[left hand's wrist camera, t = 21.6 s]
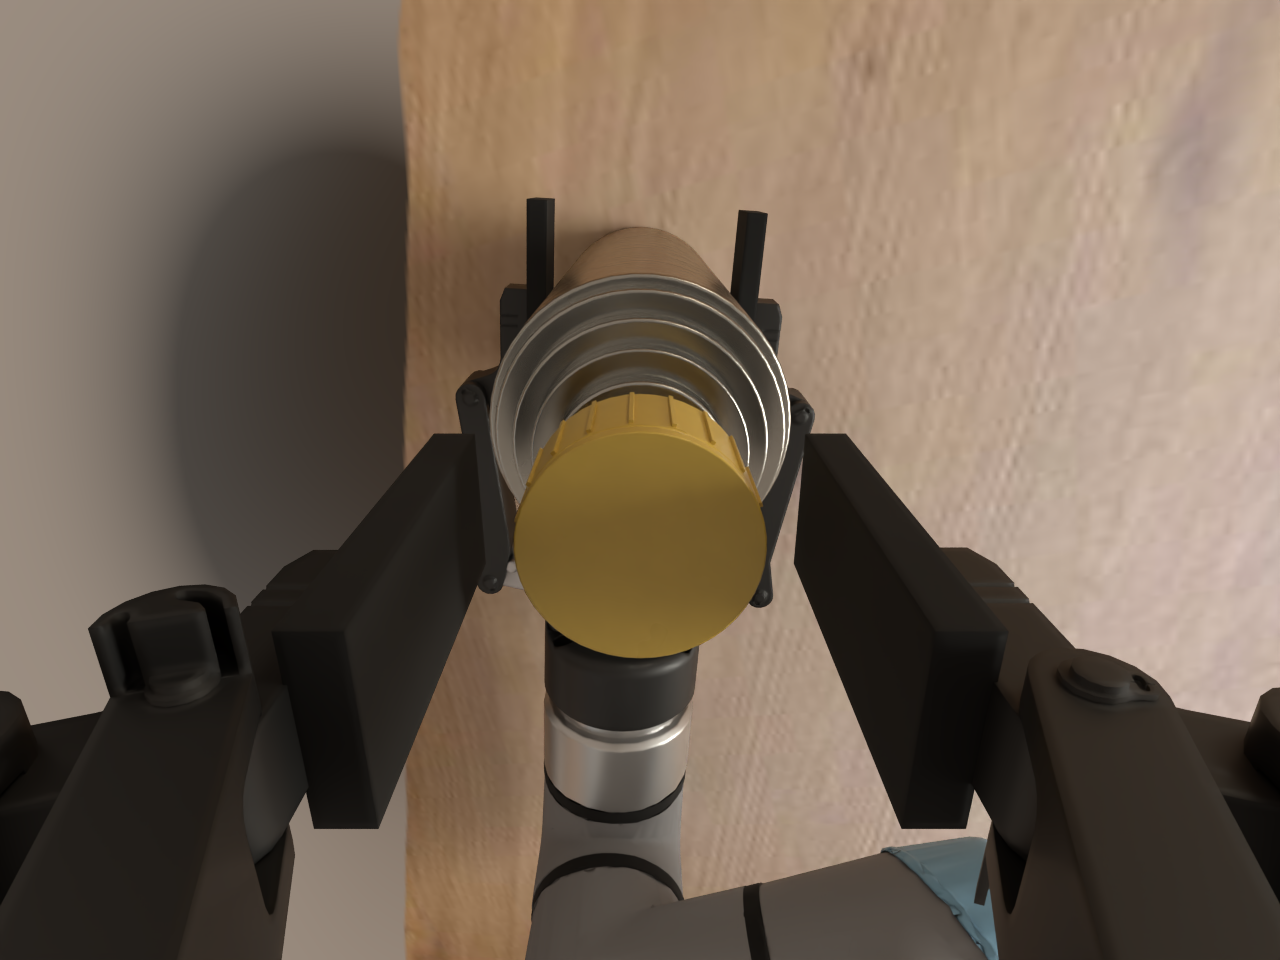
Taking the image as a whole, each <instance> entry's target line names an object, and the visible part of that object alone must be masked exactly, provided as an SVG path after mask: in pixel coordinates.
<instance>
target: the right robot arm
mask: <svg viewBox="0 0 1280 960" xmlns="http://www.w3.org/2000/svg"><path fill="white" fill-rule="evenodd" d="M554 214H555V199H551V198H529V199H527V285H526V284H509V285H508V286H507V287H505V289H504V291H503V294H502V297H501V299H500V344H501V360H502V358H503V356H504V355H505V353H506V351H507V349H508V347H509V345H510V343H511V342H512V340H513V339H514V338H515V336H516V335H517V334H518V332H519V331H520V329H521V328H522V327H523V325H524V324H525V323H526V322H527V321H528V319H529V318H530V317H531V316H532V315H533V313H534V312H535V311H536V310H537V308H538V307H539V306H540V305H541V304H542V302H543V301H544V300H545V299H546V298H547V296H548V295H549V294H550V293H551V291H552V290H553V287H554ZM767 216H768V214H767V213H763V212H759V211H746V210H739V213H738V223H737V233H736V243H735V253H734V263H733V272H732V282H731V292H730V294H731V295H732V296H733V297H734V299H735V300H736V301H737V302H738V303H739V305H740V306H741V307H742V308H743V310H744V311H745V312H746V313H747V314H748V316H749V317H750V318H751V319H752V320H753V322H754V323H755V324H756V325H757V326H758V328H759V329H760V330H761V332H762V333H763V334H764V336H765V337H766V339H767V340H768V342H769V343H770V345H771V346H772V348H773V350H774V352H775V354H776V356H777V353H778V345H779V338H780V330H781V322H782V315H781V311H780V307H779V304H778V303H777V302H776V301H774V300H773V299H761V298H758V294H759V285H760V277H761V268H762V259H763V251H764V242H765V233H766V225H767ZM501 360H500V363H501ZM499 366H500V364H499ZM499 366H497V367H494V368H491V369H488V370H484V371H481V370H479V371H475V372H474V373H472V374H471V375H470V376H469V377H468V378H467V380H466V381H465V382H464V383H463V384H462V385H461V386H460V387H459V389H458V390H457V392H456V404H457V409H458V415H459V420H460V425H461V430H462V434H475V442H476V453H477V465H478V476H479V488H480V499H481V511H482V522H483V534H484V545H485V557H486V565H485V567H484V570H483V572H482V575H481V577H480V580H479V582H478V587H479V589H481V590H482V591H483V592H485V593H487V594H494V593H497V592H499V591H500V590H501V588H502V586H503V585H504V586H508V587H513V588H517V589H522V590H524V588H523V586H522V584H521V582H520V579H519V576H518V572H517V569H516V565H515V558H514V531H515V524H516V522H514V520H515V516H516V514H517V511H516V505H515V499H514V495H513V494H512V492H511V491H510V489H509V488H508V486H507V484H506V482H505V480H504V478H503V476H502V474H501V472H500V469H499V466H498V463H497V460H496V457H495V454H494V450H493V445H492V440H491V435H490V419H489V413H490V400H491V394H492V389H493V384H494V380H495V376H496V374H497V371H498V368H499ZM788 393H789V399H790V412H791V425H790V435H789V442H788V446H787V451H786V455H785V459H784V461H783V464H782V467H781V469H780V472H779V474H778V476H777V478H776V480H775V482H774V484H773V486H772V488H771V489H770V491H769V493H768V494H767V495H766V497H765V499H764V500H763V501H762V504H763V507H760V509H761V512H762V515H763V518H764V522H765V528H766V535H767V554H766V561H765V567H764V570H763V574H762V577H761V580H760V583H759V585H758V587H757V589H756V591H755V594H754V595H753V597H752V598H751V600H750V602H749V604H750V605H751V606H754V607H756V608H762V607H765V606H767V605H768V604H770V602H771V601H772V599H773V589H772V578H771V567H770V562H771V559H772V555H773V552H774V549H775V546H776V542H777V539H778V536H779V533H780V529H781V526H782V523H783V520H784V516H785V513H786V510H787V507H788V503H789V500H790V497H791V494H792V490H793V487H794V484H795V481H796V478H797V474H798V471H799V468H800V465H801V461H802V458H803V453H804V442H805V434H810V432H811V429H812V426H813V422H814V418H815V413H814V410H813V408H812V407H811V406H810V404H809V403H808V402H807V401H806V399H805V398H804V397H803V395H802V394H801V393H800V392H799V391H798V390H796V389H794V388H788ZM698 651H699V645H698V646H696V647H693V648H691V649H689V650H686V651H683V652H679V653H676V654H672V655H667V656H661V657H653V658H627V657H619V656H613V655H608V654H605V653H601V652H598V651H594V650H592V649H589V648H587V647H585V646H582V645H580V644H578V643H576V642H574V641H573V640H571V639H569V638H567V637H566V636H564V635H563V634H562V633H560V632H559V631H557V630H556V629H555V628H554V627H553V626H551V625H550V624H549V623H548V622H547V621H546V620H545V688H546V694H545V699H544V773H545V782H544V804H543V825H542V837H541V846H540V853H539V860H538V866H537V873H536V879H535V886H534V893H533V901H532V914H531V921H532V924H531V930H530V935H529V941H528V946H527V952H526V957H525V960H999V957H998V949H997V942H996V934H995V926H994V918H993V911H992V903H991V895H990V889H989V890H988V893H987V897H986V901H985V905H984V906H983V905H979V904H975V903H974V898H975V892H976V886H977V882H978V878H979V873H980V869H981V865H982V860H983V856H984V852H985V848H986V843H987V840H986V839H983V838H979V837H964V838H957V839H950V840H944V841H937V842H930V843H923V844H916V845H910V846H903V847H887V848H882V850H881V853H880V854H876V855H872V856H868V857H864V858H861V859H857V860H853V861H849V862H845V863H841V864H837V865H833V866H829V867H826V868H822V869H818V870H814V871H810V872H806V873H802V874H798V875H794V876H790V877H787V878H783V879H779V880H775V881H771V882H767V883H757V884H753V885H749V886H743V887H738V888H734V889H730V890H725V891H721V892H717V893H712V894H708V895H703V896H699V897H695V898H690V899H686V900H684V898H683V890H682V873H681V857H680V827H681V812H682V797H683V783H684V779H685V770H686V766H687V760H688V750H689V740H690V730H691V719H692V707H693V701H692V696H693V694H694V689H695V680H696V671H697V661H698Z"/></svg>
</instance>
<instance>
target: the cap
mask: <svg viewBox="0 0 1280 960" xmlns="http://www.w3.org/2000/svg"><path fill="white" fill-rule="evenodd" d="M526 486H527V487H526V489H525V492H524V495H523V498H522V500H521V503H520V506H519V508H518V511H517V514H516V516H515V520H514V522H516V524H515V531H514V558H515V565H516V569H517V572H518V576H519V579H520V582H521V584H522V586H523V588H524V591H525V593H526V595H527V596H528V598H529V599H530V601H531V603H532V604H533V606H534V607H535V608H536V610H537V611H538V612H539V613H540V614H541V616H542V617H543V618H544V619H545V620H546V621H547V622H548V623H549V624H550V625H551V626H553V627H554V628H555V629H556V630H557V631H559V632H560V633H562V634H563V635H564V636H566V637H567V638H569V639H571V640H573V641H574V642H576V643H578V644H580V645H582V646H585V647H587V648H589V649H592V650H594V651H598V652H601V653H605V654H608V655H613V656H619V657H627V658H653V657H661V656H667V655H672V654H676V653H679V652H683V651H686V650H689V649H691V648H693V647H696V646H698V645H701V644H702V643H704V642H706V641H708V640H710V639H711V638H713V637H715V636H716V635H717V634H719V633H720V632H722V631H723V630H724V629H726V628H727V627H728V626H729V625H730V624H731V623H732V622H733V621H734V620H735V619H736V618H737V617H738V616H739V615H740V614H741V612H742V611H743V610H744V609H745V608H746V606H747V605H748V603H749V602H750V600H751V598H752V597H753V595H754V594H755V591H756V589H757V587H758V585H759V583H760V580H761V577H762V574H763V570H764V567H765V561H766V554H767V535H766V528H765V522H764V518H763V515H762V512H761V509H760V507H763V504H762V501H761V499H760V496H759V493H758V491H757V488H756V485H755V483H754V480H753V478H752V475H751V472H750V470H749V467H745V465H744V463H743V460H742V458H741V456H740V453H739V451H738V448H737V445H736V442H735V440H734V438H733V436H732V435H731V436H730V437H729V436H728V435H727V433H726V432H725V431H724V430H723V429H722V428H721V427H720V426H719V425H718V424H717V423H716V422H715V421H714V420H713V419H711V418H710V417H709V415H708V412H706V411H705V410H704V411H703V412H701V411H700V410H698V409H697V408H695V407H693V406H691V405H688V404H686V403H684V402H681V401H678V400H675V399H673V396H670V395H669V396H668V397H664V396H659V395H650V394H634V392H630V395H622V396H617V397H611V398H608V399H605V400H602V401H599V402H597V401H596V400H595V401H593V402H592V405H590V406H588V407H586V408H584V409H582V410H580V411H579V412H577V413H576V414H574V415H573V416H571V417H570V418H569V419H568V420H567V421H564V420H562V421H561V422H560V425H559V428H558V429H557V430H556V431H555V433H554V434H553V435H552V436H551V437H550V439H549V440H548V442H547V443H546V445H545V446H544V448H543V449H542V448H540V449H539V451H538V453H537V456H536V459H535V461H534V464H533V467H532V469H531V472H530V474H529V477H528V480H527V482H526Z"/></svg>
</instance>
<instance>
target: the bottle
mask: <svg viewBox="0 0 1280 960" xmlns="http://www.w3.org/2000/svg"><path fill="white" fill-rule="evenodd" d="M630 392H634V394H650V395H659V396H664V397H668V396H669V395H670V396H673V399H675V400H678V401H681V402H684V403H686V404H688V405H691V406H693V407H695V408H697V409H698V410H700V411H701V412H703V411H704V410H705V411H706V412H708V415H709V417H710V418H711V419H713V420H714V421H715V422H716V423H717V424H718V425H719V426H720V427H721V428H722V429H723V430H724V431H725V432H726V433H727V435H728V436H729V437H730V436H731V435H732V436H733V438H734V440H735V442H736V445H737V448H738V451H739V453H740V456H741V458H742V460H743V463H744V465H745V467H749V470H750V472H751V475H752V478H753V480H754V483H755V485H756V488H757V491H758V493H759V496H760V499H761V501H763V500H764V499H765V497H766V495H767V494H768V493H769V491H770V489H771V488H772V486H773V484H774V482H775V480H776V478H777V476H778V474H779V472H780V469H781V467H782V464H783V461H784V459H785V455H786V451H787V446H788V442H789V435H790V425H791V412H790V399H789V393H788V387H787V383H786V379H785V376H784V373H783V370H782V367H781V364H780V362H779V360H778V358H777V356H776V354H775V352H774V350H773V348H772V346H771V345H770V343H769V342H768V340H767V339H766V337H765V336H764V334H763V333H762V332H761V330H760V329H759V328H758V326H757V325H756V324H755V323H754V322H753V320H752V319H751V318H750V317H749V316H748V314H747V313H746V312H745V311H744V310H743V308H742V307H741V306H740V305H739V303H738V302H737V301H736V300H735V299H734V297H733V296H732V295H731V294H730V293H729V291H728V290H727V289H726V288H725V286H724V285H723V284H722V283H721V282H720V280H719V279H718V278H717V277H716V276H715V274H714V273H713V272H712V271H711V269H710V268H709V267H708V266H707V265H706V263H705V262H704V261H703V260H702V259H701V257H700V256H699V255H698V254H697V253H696V252H695V251H694V249H693V248H691V247H690V246H689V245H688V244H687V243H686V242H684V241H683V240H681V239H679V238H678V237H676V236H674V235H672V234H670V233H668V232H665V231H662V230H658V229H653V228H647V227H634V228H626V229H622V230H618V231H615V232H613V233H610V234H608V235H606V236H604V237H602V238H601V239H599V240H597V241H596V242H595V243H593V244H592V245H591V246H590V247H589V248H588V249H587V250H586V251H585V252H584V253H583V254H582V255H581V256H580V257H579V259H578V260H577V261H576V262H575V264H574V265H573V266H572V267H571V268H570V270H569V271H568V272H567V273H566V274H565V276H564V277H563V278H562V279H561V281H560V282H559V283H558V284H557V285H556V287H555V288H554V289H553V290H552V291H551V293H550V294H549V295H548V296H547V298H546V299H545V300H544V301H543V302H542V304H541V305H540V306H539V307H538V308H537V310H536V311H535V312H534V313H533V315H532V316H531V317H530V318H529V319H528V321H527V322H526V323H525V324H524V325H523V327H522V328H521V329H520V331H519V332H518V334H517V335H516V336H515V338H514V339H513V340H512V342H511V343H510V345H509V347H508V349H507V351H506V353H505V355H504V356H503V358H502V360H501V363H500V366H499V368H498V371H497V374H496V376H495V380H494V384H493V389H492V394H491V400H490V413H489V419H490V435H491V440H492V445H493V450H494V454H495V457H496V460H497V463H498V466H499V469H500V472H501V474H502V476H503V478H504V480H505V482H506V484H507V486H508V488H509V489H510V491H511V492H512V494H513V495H514V497H515V498H516V500H517V501H518V503H519V504H520V503H521V500H522V498H523V495H524V492H525V489H526V487H527V486H526V482H527V480H528V477H529V474H530V472H531V469H532V467H533V464H534V461H535V459H536V456H537V453H538V451H539V449H540V448H542V449H543V448H544V446H545V445H546V443H547V442H548V440H549V439H550V437H551V436H552V435H553V434H554V433H555V431H556V430H557V429H558V428H559V425H560V422H561V421H562V420H564V421H567V420H568V419H569V418H570V417H571V416H573V415H574V414H576V413H577V412H579V411H580V410H582V409H584V408H586V407H588V406H590V405H592V402H593V401H595V400H596V401H597V402H599V401H602V400H605V399H608V398H611V397H617V396H622V395H630Z"/></svg>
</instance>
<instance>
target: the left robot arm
mask: <svg viewBox="0 0 1280 960" xmlns="http://www.w3.org/2000/svg"><path fill="white" fill-rule="evenodd" d="M485 565H486V557H485V545H484V534H483V522H482V511H481V499H480V488H479V476H478V465H477V453H476V442H475V434H433V436H432V437H431V438H430V439H429V441H428V442H427V443H426V444H425V445H424V447H423V448H422V449H421V450H420V451H419V453H418V454H417V455H416V456H415V458H414V459H413V460H412V461H411V462H410V464H409V465H408V466H407V467H406V468H405V470H404V471H403V472H402V473H401V475H400V476H399V477H398V478H397V479H396V481H395V482H394V483H393V484H392V485H391V487H390V488H389V489H388V490H387V491H386V493H385V494H384V495H383V496H382V498H381V499H380V500H379V501H378V503H377V504H376V505H375V506H374V507H373V509H372V510H371V511H370V512H369V513H368V515H367V516H366V517H365V518H364V519H363V521H362V522H361V523H360V524H359V525H358V527H357V528H356V529H355V530H354V532H353V533H352V534H351V535H350V536H349V538H348V539H347V540H346V541H345V542H344V544H343V545H342V546H341V547H340V549H339V550H313V551H311V552H309V553H307V554H306V555H304V556H302V557H300V558H298V559H297V560H295V561H293V562H291V563H290V564H288V565H286V566H284V567H283V568H282V570H281V571H280V572H279V573H278V574H277V575H276V576H275V577H274V578H273V579H272V580H271V581H270V582H269V584H268V585H267V586H266V590H262V591H261V592H260V593H259V594H258V595H257V596H256V598H255V599H254V600H253V601H252V602H251V603H252V604H251V606H247V607H246V608H245V609H244V610H243V612H242V613H241V614H240V612H239V608H238V603H237V599H236V595H234V594H233V593H231V592H230V591H228V590H227V589H225V588H223V587H217V586H211V585H187V586H177V587H173V588H168V589H163V590H159V591H154V592H150V593H148V594H145V595H142V596H140V597H137V598H134V599H131V600H129V601H126V602H124V603H122V604H120V605H118V606H117V607H115V608H113V609H111V610H110V611H108V612H106V613H104V614H103V615H101V616H100V617H99V618H98V619H97V620H96V621H95V622H94V623H93V624H92V625H91V626H90V627H89V628H88V630H89V633H90V637H91V640H92V643H93V646H94V649H95V652H96V655H97V658H98V661H99V664H100V667H101V670H102V673H103V677H104V680H105V683H106V686H107V689H108V692H109V695H110V699H109V701H108V703H107V705H106V707H105V708H104V710H103V711H102V712H97V713H93V714H88V715H82V716H77V717H72V718H67V719H62V720H57V721H52V722H46V723H41V724H36V725H30V722H29V720H28V717H27V715H26V712H25V709H24V707H23V704H22V701H21V699H19V698H18V697H16V696H15V695H13V694H11V693H10V692H6V691H0V960H281V959H282V951H283V944H284V936H285V928H286V920H287V912H288V905H289V897H290V889H291V882H292V874H293V866H294V858H295V852H294V845H293V839H292V835H291V831H290V826H289V822H290V820H291V818H292V817H293V815H294V813H295V811H296V809H297V807H298V806H299V804H300V802H301V800H302V798H303V797H304V795H305V793H306V794H307V799H308V803H309V808H310V812H311V817H312V821H313V826H314V829H378V828H379V826H380V824H381V821H382V819H383V816H384V814H385V811H386V809H387V806H388V804H389V801H390V799H391V797H392V794H393V791H394V789H395V787H396V784H397V782H398V779H399V777H400V774H401V772H402V769H403V767H404V764H405V762H406V760H407V757H408V755H409V752H410V750H411V747H412V745H413V742H414V740H415V737H416V735H417V732H418V730H419V727H420V725H421V723H422V720H423V718H424V715H425V713H426V710H427V708H428V705H429V703H430V700H431V698H432V695H433V693H434V691H435V688H436V686H437V683H438V681H439V678H440V676H441V673H442V671H443V668H444V666H445V663H446V661H447V658H448V656H449V654H450V651H451V649H452V646H453V644H454V641H455V639H456V636H457V634H458V631H459V629H460V626H461V624H462V621H463V619H464V617H465V614H466V612H467V609H468V607H469V604H470V602H471V599H472V597H473V594H474V592H475V589H476V587H477V585H478V582H479V580H480V577H481V575H482V572H483V570H484V567H485ZM794 565H795V567H796V570H797V572H798V575H799V577H800V580H801V582H802V585H803V587H804V589H805V592H806V594H807V597H808V599H809V602H810V604H811V607H812V609H813V612H814V614H815V617H816V619H817V622H818V624H819V626H820V629H821V631H822V634H823V636H824V639H825V641H826V644H827V646H828V649H829V651H830V654H831V656H832V658H833V661H834V663H835V666H836V668H837V671H838V673H839V676H840V678H841V681H842V683H843V686H844V688H845V691H846V693H847V695H848V698H849V700H850V703H851V705H852V708H853V710H854V713H855V715H856V718H857V720H858V723H859V725H860V728H861V730H862V732H863V735H864V737H865V740H866V742H867V745H868V747H869V750H870V752H871V755H872V757H873V760H874V762H875V764H876V767H877V769H878V772H879V774H880V777H881V779H882V782H883V784H884V787H885V789H886V792H887V794H888V797H889V799H890V801H891V804H892V806H893V809H894V811H895V814H896V816H897V819H898V821H899V824H900V826H901V829H966V826H967V822H968V817H969V812H970V808H971V803H972V799H973V794H974V789H975V791H976V793H977V795H978V796H979V798H980V800H981V802H982V804H983V805H984V807H985V809H986V811H987V813H988V814H989V816H990V818H991V820H992V822H991V826H990V830H989V835H988V839H987V843H986V848H985V852H984V856H983V860H982V865H981V869H980V873H979V878H978V882H977V886H976V892H975V898H974V903H975V904H979V905H983V906H984V905H985V901H986V897H987V893H988V890H989V889H990V895H991V903H992V911H993V918H994V926H995V934H996V942H997V949H998V957H999V960H1280V688H1272V689H1271V690H1269V691H1268V692H1266V693H1264V694H1263V695H1261V696H1260V699H1259V701H1258V704H1257V707H1256V709H1255V712H1254V714H1253V717H1252V720H1251V722H1247V721H1242V720H1236V719H1231V718H1226V717H1221V716H1216V715H1210V714H1205V713H1200V712H1195V711H1190V710H1184V709H1180V708H1176V707H1175V705H1174V703H1173V701H1172V699H1171V698H1170V696H1169V695H1168V694H1167V692H1166V691H1165V690H1164V689H1163V688H1162V687H1161V685H1160V684H1159V683H1158V682H1157V681H1156V680H1155V679H1153V678H1152V677H1150V676H1149V675H1147V674H1146V673H1144V672H1143V671H1141V670H1140V669H1138V668H1137V667H1135V666H1133V665H1130V664H1128V663H1126V662H1123V661H1121V660H1119V659H1116V658H1114V657H1112V656H1109V655H1105V654H1101V653H1097V652H1093V651H1089V650H1085V649H1075V648H1074V646H1073V645H1072V644H1071V643H1070V642H1069V641H1068V640H1067V639H1066V638H1065V637H1064V636H1063V635H1062V634H1061V633H1060V632H1059V630H1058V629H1057V628H1056V627H1055V626H1054V625H1053V624H1052V623H1051V622H1050V621H1049V620H1048V619H1047V618H1046V617H1045V616H1044V614H1043V613H1042V612H1041V611H1040V610H1039V609H1038V608H1037V607H1036V606H1035V605H1034V604H1033V603H1029V598H1028V597H1027V596H1026V595H1025V594H1024V593H1023V592H1022V591H1021V590H1020V589H1019V588H1018V587H1014V582H1013V581H1012V580H1011V579H1010V578H1009V577H1008V576H1007V575H1006V574H1005V573H1004V572H1003V571H1002V570H1001V569H1000V568H999V566H998V565H997V564H995V563H994V562H992V561H990V560H988V559H986V558H985V557H983V556H981V555H979V554H978V553H976V552H974V551H972V550H970V549H969V548H940V547H939V546H938V545H937V544H936V542H935V541H934V540H933V539H932V538H931V536H930V535H929V534H928V533H927V532H926V530H925V529H924V528H923V527H922V525H921V524H920V523H919V522H918V521H917V519H916V518H915V517H914V516H913V515H912V513H911V512H910V511H909V510H908V508H907V507H906V506H905V505H904V504H903V502H902V501H901V500H900V499H899V498H898V496H897V495H896V494H895V493H894V492H893V490H892V489H891V488H890V487H889V485H888V484H887V483H886V482H885V481H884V479H883V478H882V477H881V476H880V475H879V473H878V472H877V471H876V470H875V468H874V467H873V466H872V465H871V464H870V462H869V461H868V460H867V459H866V458H865V456H864V455H863V454H862V453H861V451H860V450H859V449H858V448H857V447H856V445H855V444H854V443H853V442H852V441H851V439H850V438H849V437H848V436H847V434H805V442H804V453H803V465H802V476H801V488H800V499H799V511H798V522H797V534H796V545H795V557H794Z"/></svg>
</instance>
